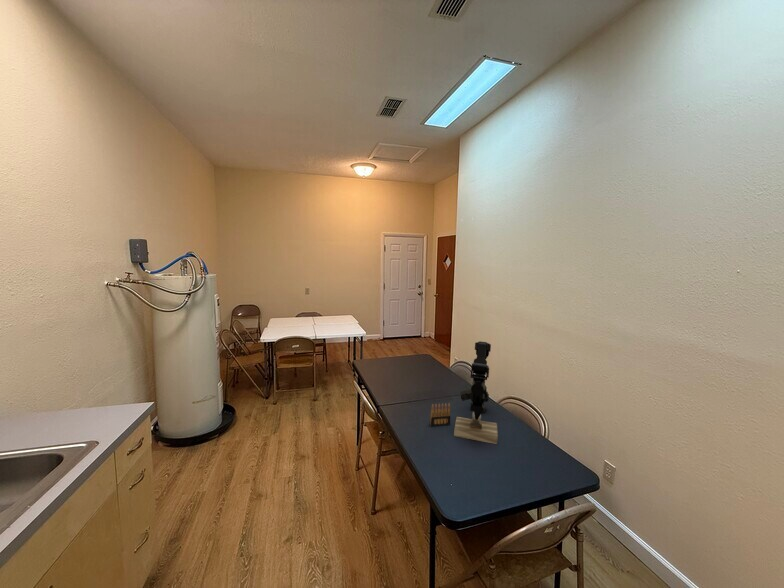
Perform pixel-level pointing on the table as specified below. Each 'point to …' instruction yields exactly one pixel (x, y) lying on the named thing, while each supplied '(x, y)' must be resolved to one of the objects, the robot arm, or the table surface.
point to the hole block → (476, 430)
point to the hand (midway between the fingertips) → (476, 417)
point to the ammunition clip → (440, 415)
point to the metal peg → (476, 422)
